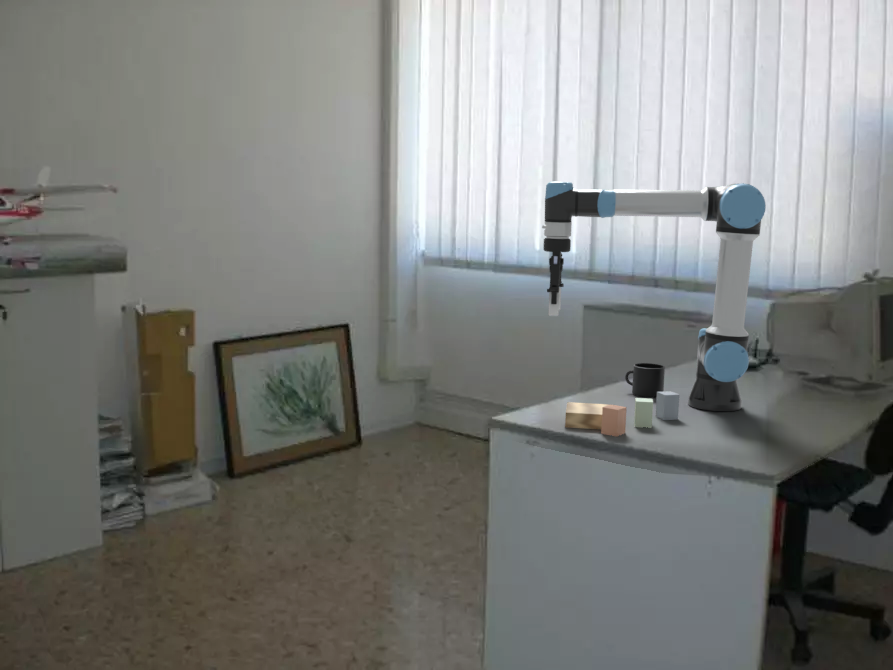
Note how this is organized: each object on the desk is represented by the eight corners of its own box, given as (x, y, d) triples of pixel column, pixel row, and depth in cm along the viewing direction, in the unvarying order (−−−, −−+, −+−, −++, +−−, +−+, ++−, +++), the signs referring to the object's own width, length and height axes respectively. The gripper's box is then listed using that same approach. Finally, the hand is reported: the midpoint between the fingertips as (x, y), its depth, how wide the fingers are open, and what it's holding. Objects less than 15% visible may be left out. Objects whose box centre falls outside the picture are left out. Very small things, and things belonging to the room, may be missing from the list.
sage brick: (650, 424, 277) (652, 398, 276) (651, 428, 273) (653, 402, 272) (633, 423, 278) (635, 397, 277) (634, 427, 273) (635, 401, 272)
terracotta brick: (609, 430, 269) (611, 404, 268) (625, 433, 266) (626, 407, 265) (601, 433, 265) (602, 407, 264) (616, 436, 262) (618, 409, 261)
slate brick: (669, 415, 288) (671, 391, 287) (677, 419, 283) (679, 394, 282) (655, 416, 286) (656, 391, 285) (663, 420, 282) (664, 395, 281)
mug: (629, 389, 323) (630, 361, 321) (666, 393, 317) (668, 365, 316) (620, 394, 314) (621, 365, 313) (658, 399, 309) (660, 369, 308)
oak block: (614, 419, 282) (614, 404, 281) (614, 430, 269) (615, 415, 268) (566, 416, 283) (567, 402, 283) (565, 427, 271) (565, 412, 270)
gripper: (546, 234, 300) (543, 306, 303) (541, 239, 275) (538, 317, 279) (572, 235, 299) (569, 307, 302) (569, 240, 274) (566, 319, 278)
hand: (554, 312), depth 290 cm, fingers open, 13 cm apart
